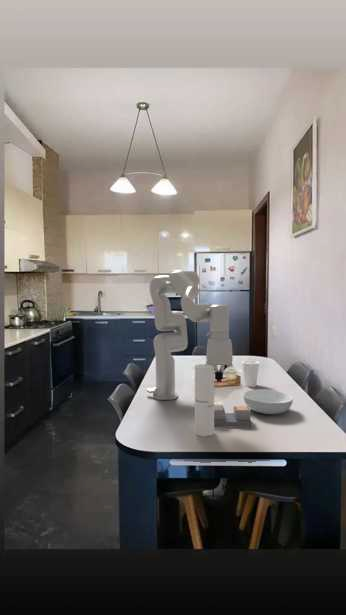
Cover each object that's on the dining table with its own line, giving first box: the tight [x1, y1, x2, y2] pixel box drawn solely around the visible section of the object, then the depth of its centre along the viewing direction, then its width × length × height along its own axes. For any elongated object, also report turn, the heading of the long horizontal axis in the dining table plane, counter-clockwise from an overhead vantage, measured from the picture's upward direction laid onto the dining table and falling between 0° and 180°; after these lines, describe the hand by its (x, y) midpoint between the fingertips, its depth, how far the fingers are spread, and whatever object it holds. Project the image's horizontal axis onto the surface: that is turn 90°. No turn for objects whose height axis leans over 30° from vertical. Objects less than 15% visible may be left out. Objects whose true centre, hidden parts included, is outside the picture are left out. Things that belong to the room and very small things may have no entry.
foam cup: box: [241, 360, 260, 388], centre depth 201 cm, size 10×9×13 cm
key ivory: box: [214, 401, 224, 411], centre depth 146 cm, size 4×4×3 cm
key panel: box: [214, 405, 253, 428], centre depth 146 cm, size 16×10×6 cm, turn 88°
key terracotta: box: [235, 405, 249, 411], centre depth 145 cm, size 4×4×3 cm
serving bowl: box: [243, 388, 294, 415], centre depth 159 cm, size 21×21×7 cm
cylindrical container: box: [194, 363, 215, 437], centre depth 135 cm, size 7×7×25 cm
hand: (218, 381), depth 145 cm, fingers closed
